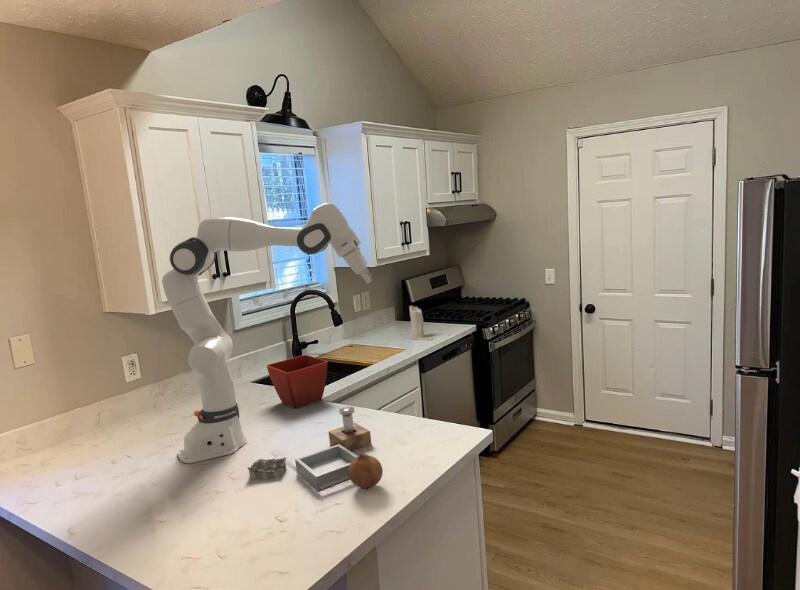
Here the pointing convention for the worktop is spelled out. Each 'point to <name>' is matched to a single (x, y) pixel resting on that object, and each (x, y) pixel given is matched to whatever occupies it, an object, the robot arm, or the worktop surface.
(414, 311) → the candle
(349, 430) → the steel pin
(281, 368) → the plant pot
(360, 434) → the socket block
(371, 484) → the onion
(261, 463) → the egg carton
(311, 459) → the grey tray
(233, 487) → the worktop surface
